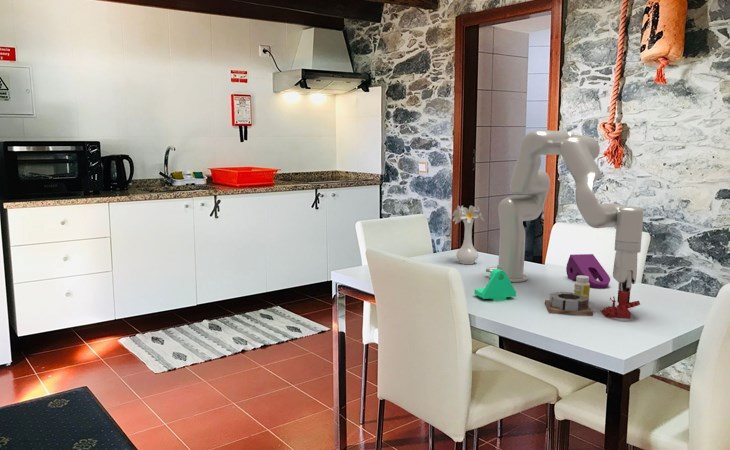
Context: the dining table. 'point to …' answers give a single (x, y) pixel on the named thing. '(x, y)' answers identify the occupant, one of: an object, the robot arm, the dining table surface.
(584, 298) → the hub
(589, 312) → the block
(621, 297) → the red toothed piece
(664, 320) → the dining table surface
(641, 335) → the dining table surface
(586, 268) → the mounting bracket
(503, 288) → the camera mount
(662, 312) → the dining table surface
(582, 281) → the supplement bottle
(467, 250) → the flower vase
